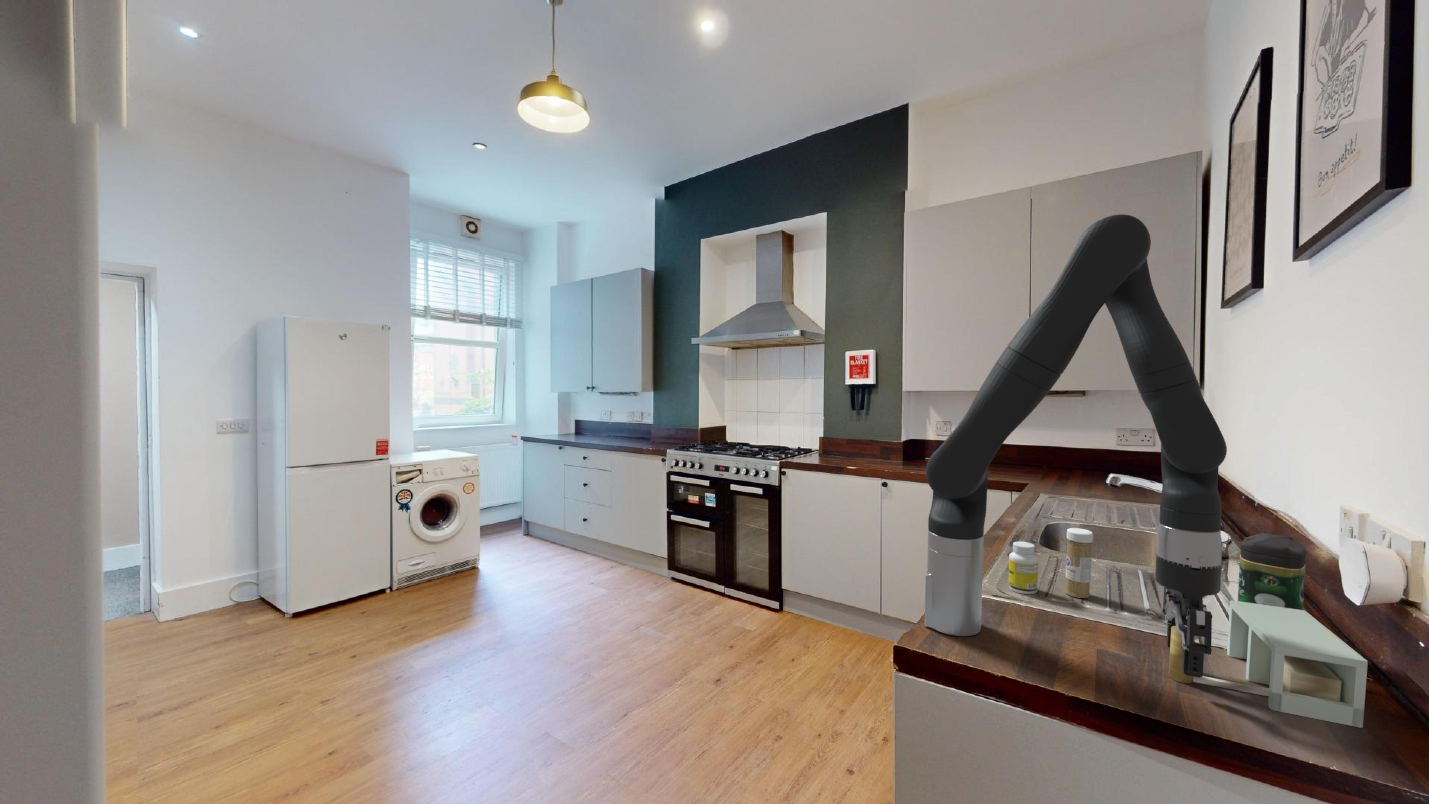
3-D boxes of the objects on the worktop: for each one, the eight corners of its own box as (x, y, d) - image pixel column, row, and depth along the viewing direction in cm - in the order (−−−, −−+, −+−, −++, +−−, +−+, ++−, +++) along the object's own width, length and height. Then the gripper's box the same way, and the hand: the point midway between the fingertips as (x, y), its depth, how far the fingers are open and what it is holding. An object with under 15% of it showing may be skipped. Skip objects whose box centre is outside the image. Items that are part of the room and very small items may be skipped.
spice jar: (1059, 590, 120) (1061, 527, 119) (1079, 589, 121) (1082, 526, 120) (1075, 599, 116) (1077, 534, 115) (1096, 598, 116) (1098, 533, 115)
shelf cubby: (1271, 709, 79) (1275, 646, 78) (1226, 653, 94) (1230, 600, 93) (1362, 728, 75) (1367, 661, 74) (1300, 666, 90) (1304, 610, 89)
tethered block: (1173, 684, 85) (1176, 635, 85) (1164, 668, 90) (1167, 621, 89) (1338, 716, 77) (1342, 662, 77) (1319, 697, 82) (1323, 646, 81)
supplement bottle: (1009, 583, 124) (1010, 538, 124) (1037, 588, 122) (1039, 542, 121) (1007, 591, 120) (1008, 545, 119) (1036, 597, 117) (1038, 549, 116)
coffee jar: (1239, 628, 103) (1245, 526, 102) (1302, 644, 97) (1309, 536, 96) (1230, 646, 97) (1237, 537, 95) (1297, 664, 91) (1305, 549, 89)
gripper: (1145, 539, 93) (1142, 636, 94) (1169, 567, 81) (1165, 679, 82) (1204, 545, 90) (1200, 645, 91) (1238, 575, 77) (1233, 691, 78)
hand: (1183, 661), depth 86 cm, fingers open, 8 cm apart
